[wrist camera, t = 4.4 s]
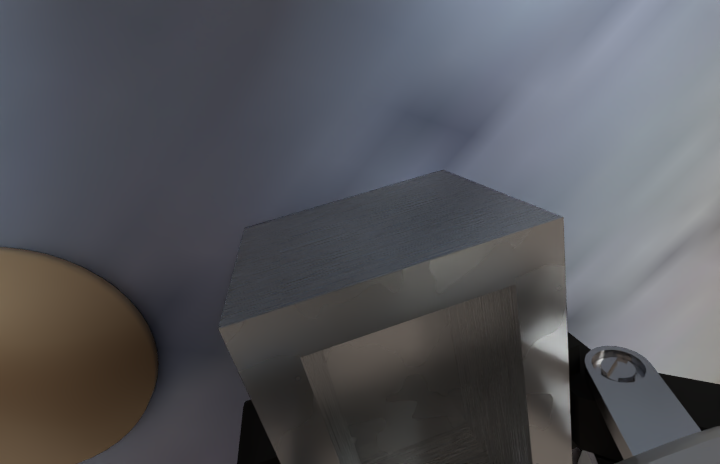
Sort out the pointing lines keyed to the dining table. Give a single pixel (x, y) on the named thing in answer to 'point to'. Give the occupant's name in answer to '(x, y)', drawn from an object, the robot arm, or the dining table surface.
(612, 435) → the robot arm
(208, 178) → the dining table surface
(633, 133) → the dining table surface
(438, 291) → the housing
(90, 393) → the coaster
